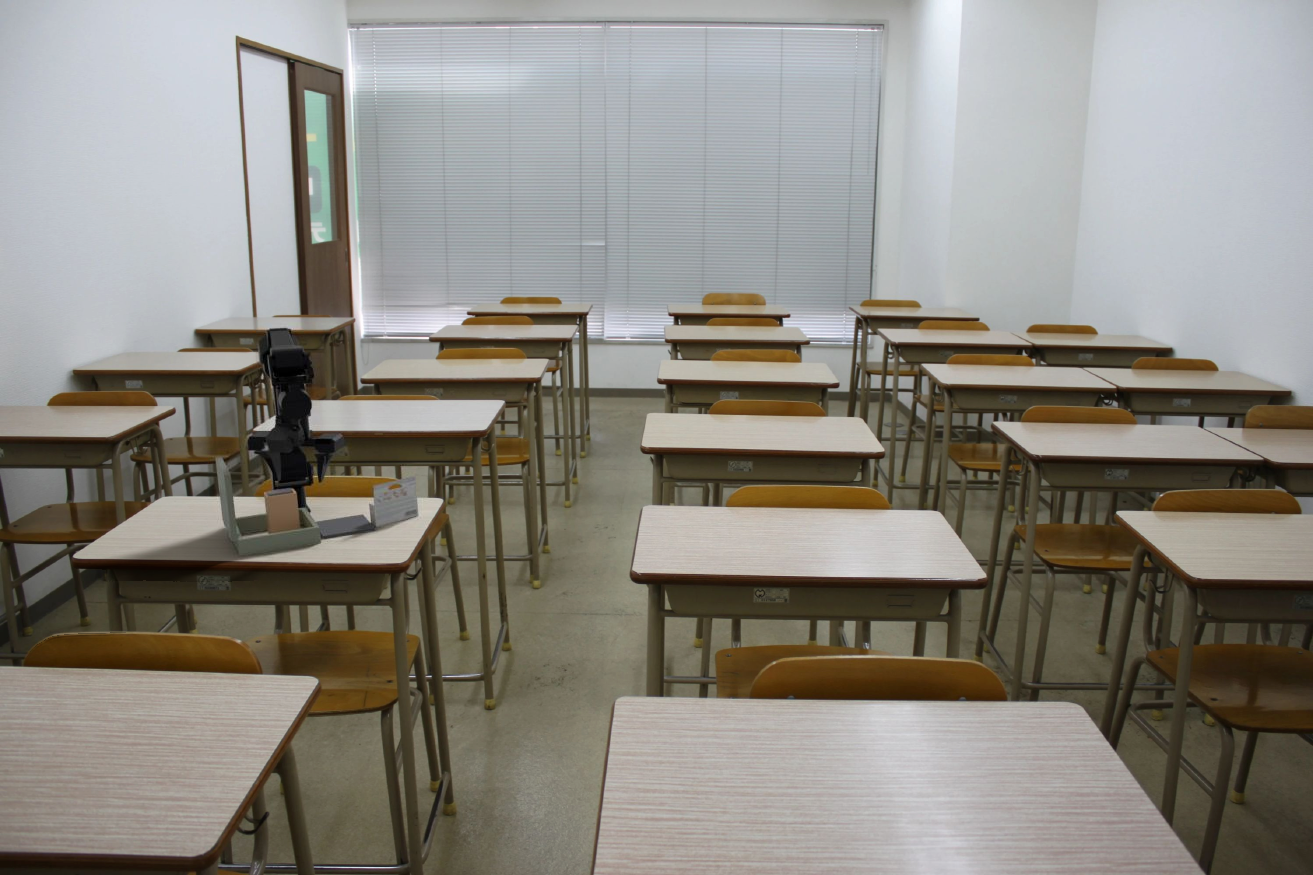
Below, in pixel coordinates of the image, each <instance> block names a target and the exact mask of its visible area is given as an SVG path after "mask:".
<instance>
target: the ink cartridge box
mask: <svg viewBox="0 0 1313 875" xmlns="http://www.w3.org/2000/svg"><path fill="white" fill-rule="evenodd" d="M416 477H417V476H416V475H413V476H410V477H405V478H400V479H398V480H393V481H388V482H384V483H383V482H382V483H378V484H374V485H372V493H373V502H371V503H368V507H369V517H370V518H369V519H370V523H371V524H372V525H373V526H374V527H375V528H377V527H381V526H385V524H386V525H390V524H393V523H397V522H400V521H404V520H408V518H409V519H412V518H416V517H418V516H419V507H418V504H419V503H418V495H417V481H416V479H417V478H416ZM395 484H396V485H397V484H398V485H400V487H396V488H392V489H389V488H391V487H392V486H394V485H395ZM415 516H416V517H415ZM411 517H412V518H411Z"/></svg>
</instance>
